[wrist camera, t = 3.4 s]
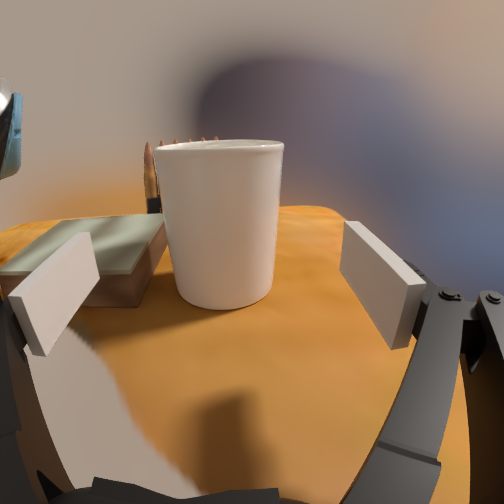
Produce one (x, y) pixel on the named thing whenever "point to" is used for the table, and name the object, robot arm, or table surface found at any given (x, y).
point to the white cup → (221, 218)
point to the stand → (101, 256)
